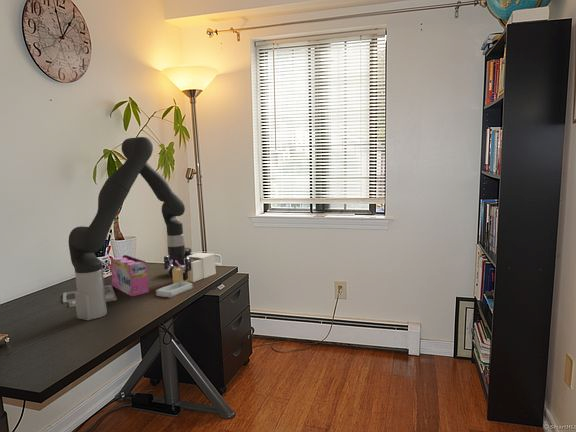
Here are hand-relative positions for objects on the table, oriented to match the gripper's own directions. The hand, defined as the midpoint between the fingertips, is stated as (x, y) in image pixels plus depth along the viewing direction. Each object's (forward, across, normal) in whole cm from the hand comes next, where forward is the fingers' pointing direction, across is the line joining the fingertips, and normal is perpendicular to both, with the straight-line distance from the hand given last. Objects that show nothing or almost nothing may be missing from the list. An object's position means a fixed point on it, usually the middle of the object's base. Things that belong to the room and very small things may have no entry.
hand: (178, 279), depth 197 cm
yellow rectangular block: (+2, 0, +3) cm, 4 cm away
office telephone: (+3, -24, -29) cm, 38 cm away
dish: (+2, +7, -10) cm, 12 cm away
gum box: (+3, -15, -14) cm, 21 cm away
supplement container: (+3, -12, +17) cm, 21 cm away
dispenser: (+2, 0, +12) cm, 12 cm away
